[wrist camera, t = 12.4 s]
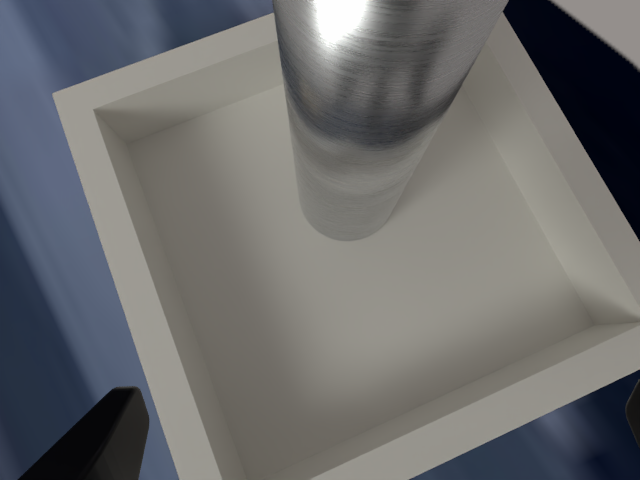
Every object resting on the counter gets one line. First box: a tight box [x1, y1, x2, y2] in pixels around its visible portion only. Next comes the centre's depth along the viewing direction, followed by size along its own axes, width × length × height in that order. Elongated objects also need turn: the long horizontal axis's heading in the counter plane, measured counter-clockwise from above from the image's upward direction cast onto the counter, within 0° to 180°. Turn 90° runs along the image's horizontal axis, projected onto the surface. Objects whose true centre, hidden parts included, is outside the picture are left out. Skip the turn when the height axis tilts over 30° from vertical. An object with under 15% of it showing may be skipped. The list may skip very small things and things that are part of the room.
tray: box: [52, 12, 640, 480], centre depth 18 cm, size 17×17×4 cm
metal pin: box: [272, 0, 509, 241], centre depth 12 cm, size 5×5×15 cm
